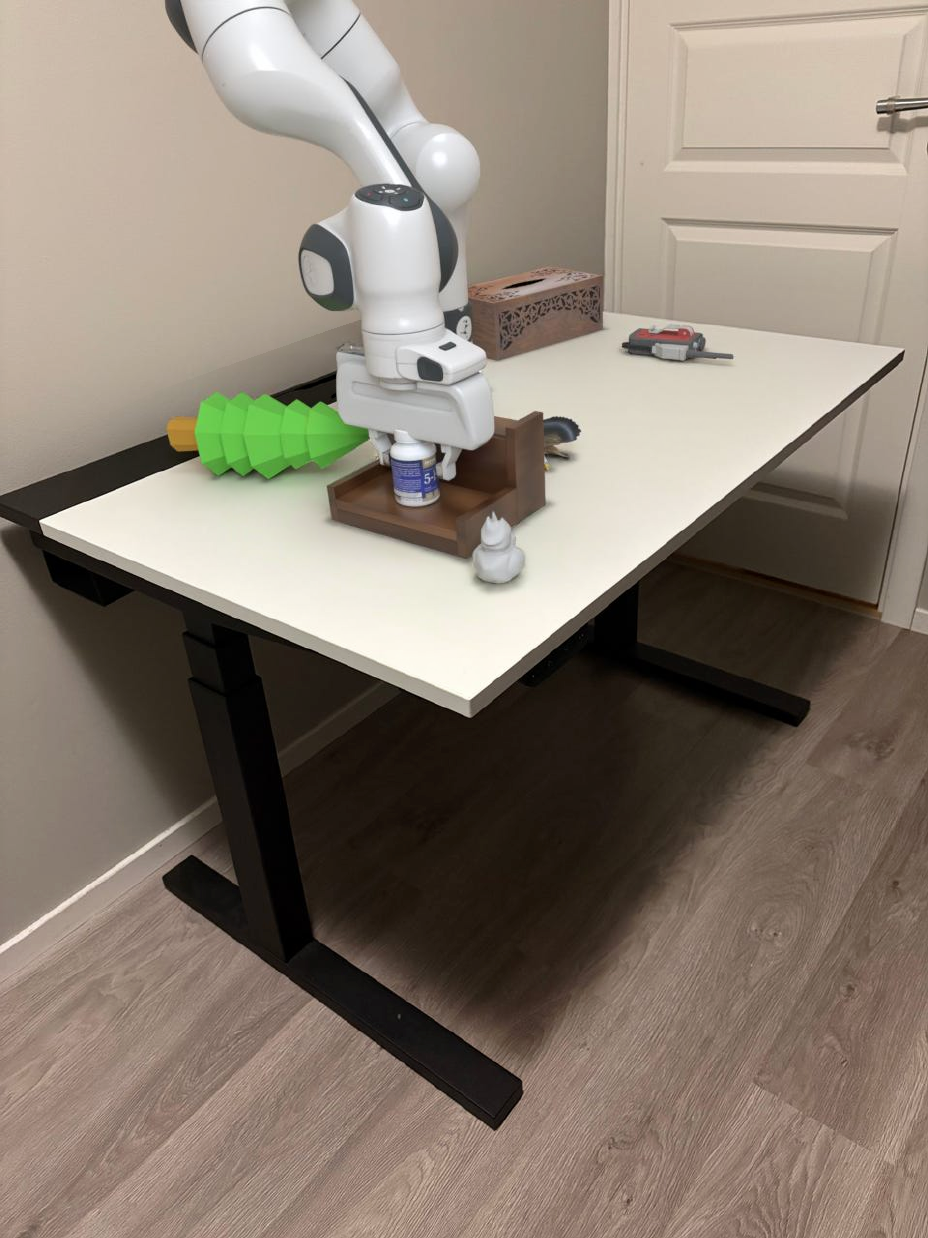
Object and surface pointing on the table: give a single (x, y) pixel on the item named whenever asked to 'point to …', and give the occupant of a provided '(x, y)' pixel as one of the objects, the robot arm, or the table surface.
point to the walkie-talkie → (670, 343)
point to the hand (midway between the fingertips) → (417, 471)
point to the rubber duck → (497, 552)
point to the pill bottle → (414, 470)
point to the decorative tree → (263, 434)
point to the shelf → (453, 491)
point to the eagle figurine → (558, 435)
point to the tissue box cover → (535, 310)
